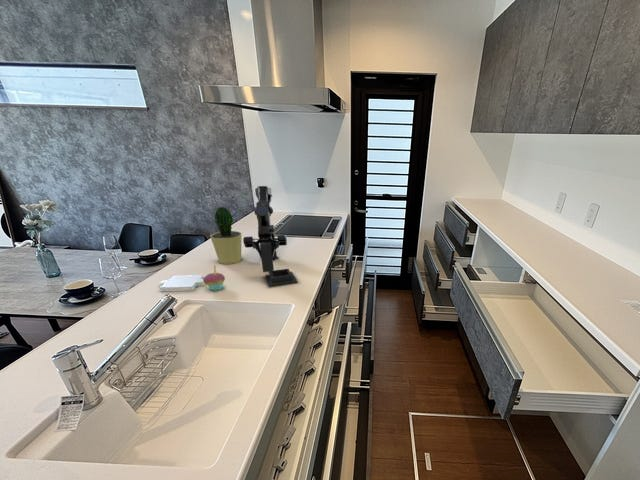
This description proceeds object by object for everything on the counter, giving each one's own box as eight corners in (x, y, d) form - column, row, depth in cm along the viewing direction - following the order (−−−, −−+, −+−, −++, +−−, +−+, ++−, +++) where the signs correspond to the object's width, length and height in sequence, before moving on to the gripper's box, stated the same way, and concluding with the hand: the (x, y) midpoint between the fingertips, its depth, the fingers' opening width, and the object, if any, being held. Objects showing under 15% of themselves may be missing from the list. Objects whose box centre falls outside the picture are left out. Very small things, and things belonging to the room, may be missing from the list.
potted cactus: (208, 262, 164) (197, 206, 152) (230, 254, 177) (221, 202, 165) (230, 267, 159) (220, 209, 147) (251, 258, 172) (243, 205, 160)
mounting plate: (154, 291, 131) (153, 287, 130) (169, 279, 142) (168, 275, 142) (198, 290, 133) (197, 286, 132) (209, 278, 145) (208, 275, 144)
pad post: (263, 268, 143) (260, 242, 137) (273, 267, 144) (270, 241, 139) (263, 272, 139) (259, 244, 134) (273, 271, 140) (270, 244, 135)
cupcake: (230, 286, 138) (226, 261, 133) (216, 294, 130) (211, 268, 125) (215, 283, 140) (210, 259, 135) (200, 290, 133) (195, 265, 128)
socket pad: (265, 276, 148) (264, 270, 147) (291, 273, 154) (291, 266, 152) (269, 287, 138) (268, 280, 136) (297, 282, 143) (297, 276, 141)
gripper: (240, 219, 133) (241, 250, 128) (284, 217, 138) (287, 248, 133) (244, 232, 143) (245, 262, 138) (285, 230, 148) (288, 259, 143)
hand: (266, 257), depth 137 cm, fingers closed on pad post, 4 cm apart
